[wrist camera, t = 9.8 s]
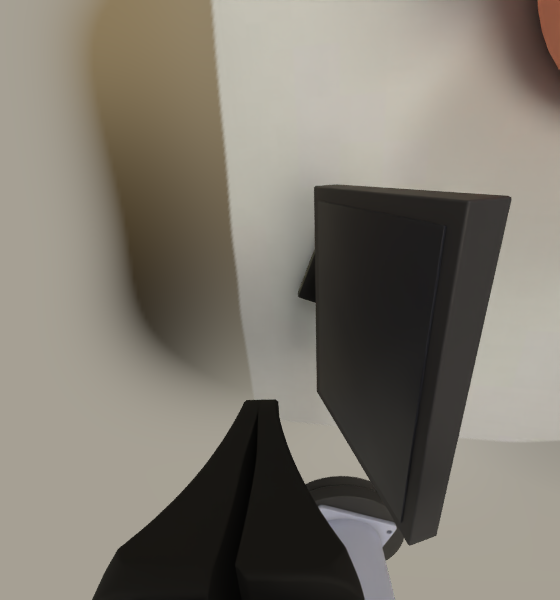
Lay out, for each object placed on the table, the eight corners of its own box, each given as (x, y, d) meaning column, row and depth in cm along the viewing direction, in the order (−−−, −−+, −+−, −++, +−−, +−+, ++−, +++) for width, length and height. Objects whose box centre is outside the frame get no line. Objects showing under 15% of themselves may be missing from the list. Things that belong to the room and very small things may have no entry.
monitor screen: (315, 391, 19) (407, 547, 11) (312, 186, 15) (465, 200, 7) (334, 387, 20) (436, 536, 11) (337, 184, 15) (513, 196, 7)
